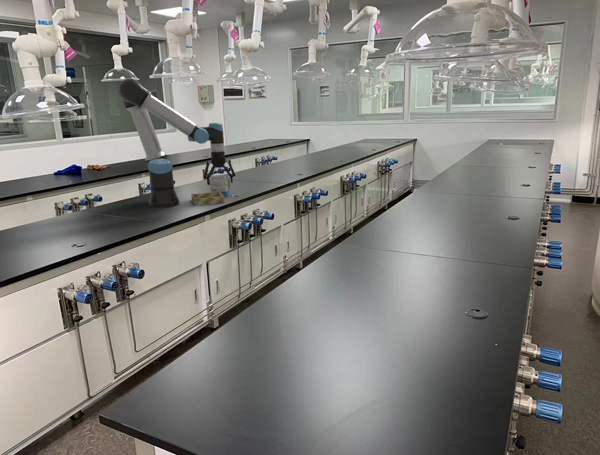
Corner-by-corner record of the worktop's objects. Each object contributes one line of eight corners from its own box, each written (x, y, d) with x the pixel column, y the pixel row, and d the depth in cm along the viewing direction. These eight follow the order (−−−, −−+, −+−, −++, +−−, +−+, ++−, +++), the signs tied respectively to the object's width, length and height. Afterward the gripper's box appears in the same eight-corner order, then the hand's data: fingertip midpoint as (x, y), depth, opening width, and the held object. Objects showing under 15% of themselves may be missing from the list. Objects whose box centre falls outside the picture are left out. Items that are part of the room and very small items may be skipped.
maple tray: (194, 205, 233) (194, 199, 232) (191, 200, 245) (191, 194, 244) (224, 202, 237) (224, 196, 237) (220, 197, 250) (219, 191, 249)
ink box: (230, 193, 261) (228, 173, 258) (226, 196, 253) (225, 175, 250) (215, 193, 262) (214, 173, 259) (211, 196, 254) (210, 175, 251)
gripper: (197, 152, 244) (200, 192, 250) (239, 150, 251) (241, 189, 257) (196, 151, 251) (199, 190, 257) (236, 149, 258) (239, 186, 264)
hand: (220, 189), depth 257 cm, fingers closed on ink box, 11 cm apart
